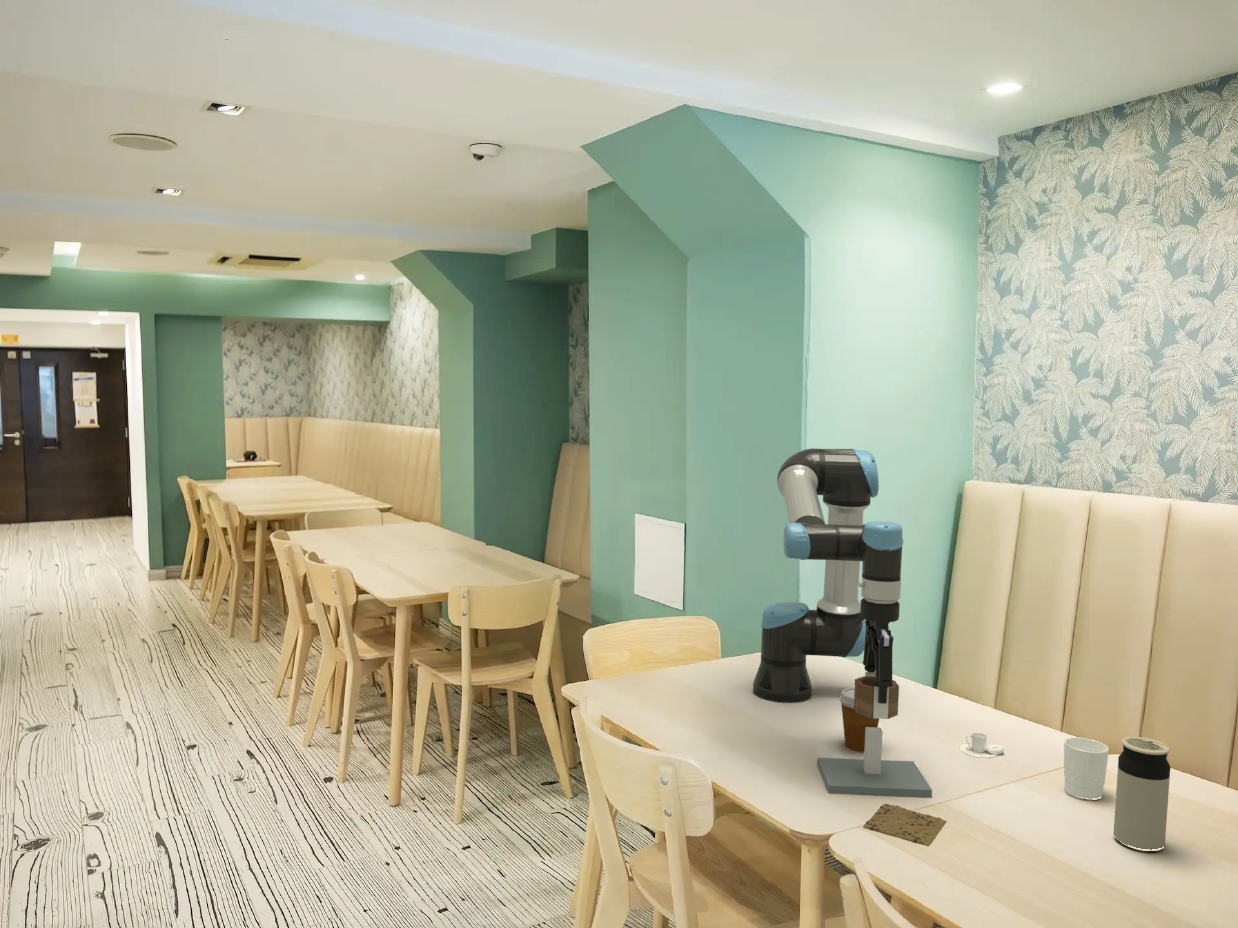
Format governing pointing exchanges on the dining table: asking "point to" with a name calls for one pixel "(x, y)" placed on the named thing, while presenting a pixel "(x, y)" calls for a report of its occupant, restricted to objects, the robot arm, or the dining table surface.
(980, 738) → the teacup and saucer
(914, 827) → the speckled square slab
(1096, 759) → the white cup
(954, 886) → the dining table surface
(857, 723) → the disposable coffee cup
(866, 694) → the brown octagonal ring
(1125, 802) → the travel mug
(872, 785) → the shaft board
